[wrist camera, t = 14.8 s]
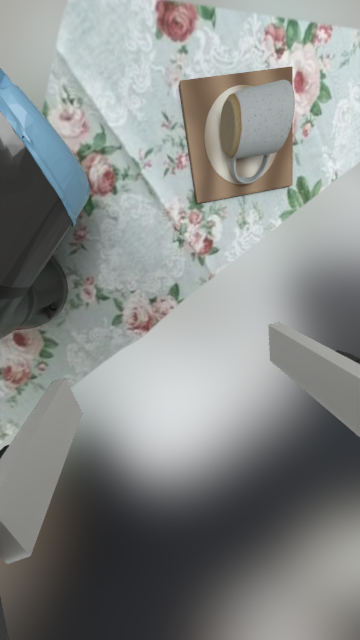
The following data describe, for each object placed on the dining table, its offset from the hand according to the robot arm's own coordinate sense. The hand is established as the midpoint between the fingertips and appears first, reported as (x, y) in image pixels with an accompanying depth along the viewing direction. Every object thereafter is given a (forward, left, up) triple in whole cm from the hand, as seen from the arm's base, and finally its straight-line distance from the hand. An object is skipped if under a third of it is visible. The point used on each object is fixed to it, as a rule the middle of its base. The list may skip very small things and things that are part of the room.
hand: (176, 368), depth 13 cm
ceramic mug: (+20, +20, -28) cm, 39 cm away
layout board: (+20, +21, -29) cm, 41 cm away
